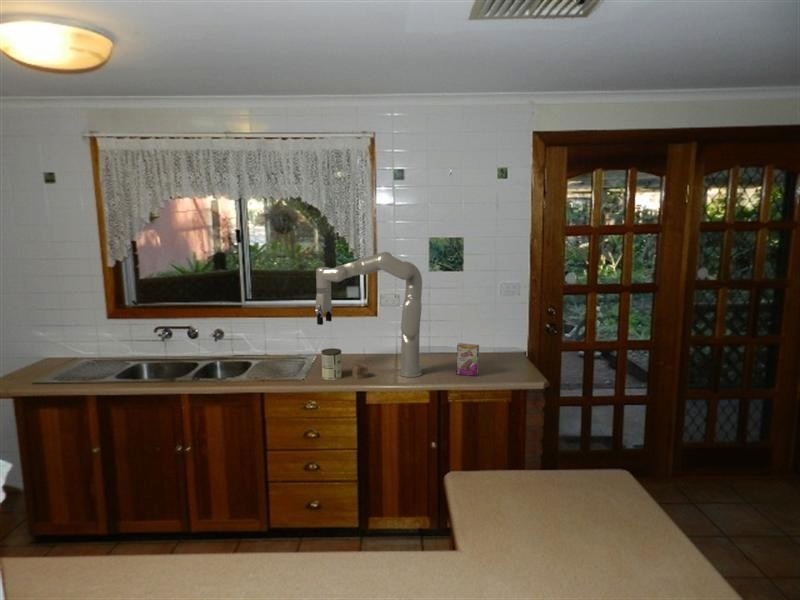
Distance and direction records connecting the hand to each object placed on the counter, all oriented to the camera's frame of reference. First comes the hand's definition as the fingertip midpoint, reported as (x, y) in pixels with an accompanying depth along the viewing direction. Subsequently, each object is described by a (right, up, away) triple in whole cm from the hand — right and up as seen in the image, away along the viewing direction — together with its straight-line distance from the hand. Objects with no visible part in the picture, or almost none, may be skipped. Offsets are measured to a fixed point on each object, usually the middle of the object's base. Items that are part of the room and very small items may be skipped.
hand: (324, 322), depth 269 cm
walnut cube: (+19, -28, -3) cm, 34 cm away
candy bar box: (+76, -28, +2) cm, 81 cm away
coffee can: (+4, -28, -3) cm, 29 cm away
